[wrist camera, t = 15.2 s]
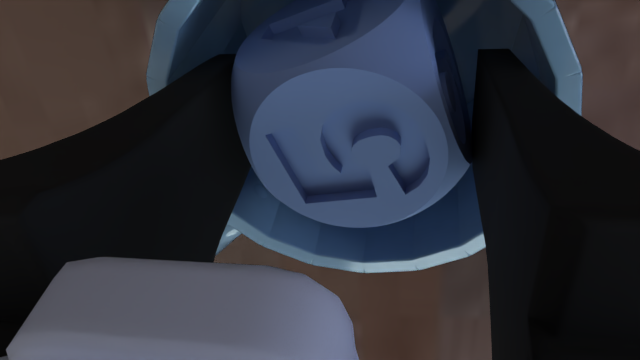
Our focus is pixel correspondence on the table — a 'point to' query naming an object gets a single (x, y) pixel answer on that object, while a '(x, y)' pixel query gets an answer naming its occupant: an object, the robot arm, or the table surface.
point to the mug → (422, 228)
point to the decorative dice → (353, 109)
